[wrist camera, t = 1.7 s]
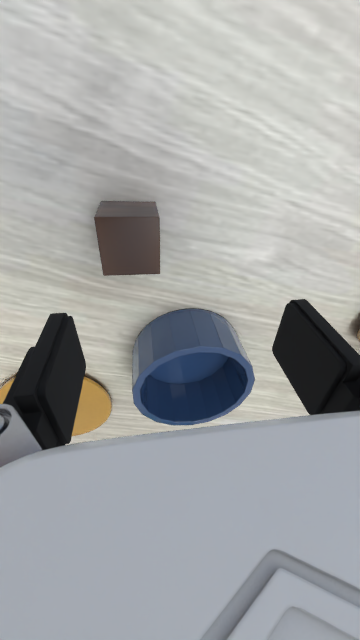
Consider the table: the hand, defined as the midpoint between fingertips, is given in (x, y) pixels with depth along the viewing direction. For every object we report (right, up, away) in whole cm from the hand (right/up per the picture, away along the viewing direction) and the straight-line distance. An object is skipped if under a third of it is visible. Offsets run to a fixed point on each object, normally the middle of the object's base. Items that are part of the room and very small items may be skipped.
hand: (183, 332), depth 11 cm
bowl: (+1, -4, +22) cm, 23 cm away
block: (-5, +9, +12) cm, 16 cm away
